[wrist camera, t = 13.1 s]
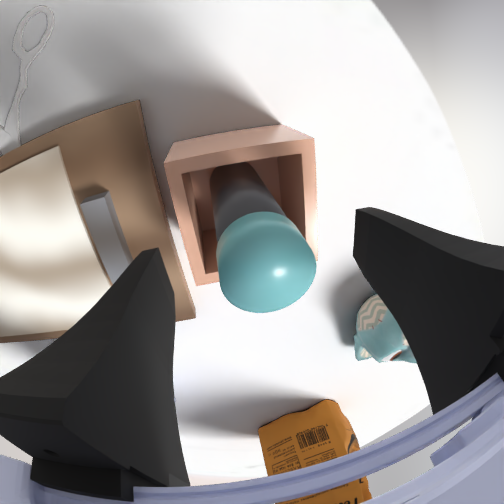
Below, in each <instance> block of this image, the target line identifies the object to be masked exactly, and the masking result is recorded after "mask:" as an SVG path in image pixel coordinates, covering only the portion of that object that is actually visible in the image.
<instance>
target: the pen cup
mask: <svg viewBox="0 0 504 504" xmlns="http://www.w3.org/2000/svg"><path fill="white" fill-rule="evenodd" d="M239 162H247V163H249V164H250V165H251V166H252V167H253V168H254V169H255V171H256V172H257V174H258V175H259V177H260V178H261V179H262V181H263V182H264V184H265V185H266V187H267V188H268V190H269V191H270V193H271V194H272V196H273V197H274V199H275V200H276V202H277V203H278V205H279V206H280V208H281V209H282V211H283V212H284V214H285V215H286V217H287V218H288V219H289V220H291V221H292V222H293V223H294V224H295V225H296V227H297V228H298V230H299V231H300V233H301V234H302V236H303V237H304V239H305V240H306V242H307V243H308V245H309V246H310V248H311V249H312V251H313V253H314V255H315V259H316V261H318V229H317V186H316V162H315V144H314V138H312V137H310V136H308V135H306V134H303V133H301V132H299V131H297V130H294V129H292V128H290V127H287V126H285V125H282V124H279V125H271V126H263V127H255V128H248V129H241V130H235V131H229V132H223V133H217V134H212V135H206V136H201V137H196V138H191V139H187V140H182V141H177V142H173V144H172V146H171V148H170V150H169V153H168V155H167V157H166V159H165V161H164V168H165V172H166V176H167V180H168V185H169V189H170V193H171V197H172V201H173V205H174V209H175V213H176V216H177V220H178V224H179V228H180V231H181V235H182V239H183V242H184V246H185V249H186V253H187V257H188V260H189V263H190V267H191V270H192V274H193V277H194V280H195V284H196V286H199V285H205V284H210V283H215V282H220V281H219V274H218V266H217V258H216V249H217V237H216V230H215V222H214V215H213V207H212V200H211V192H210V177H211V174H212V172H213V171H214V169H215V168H216V167H217V166H222V165H228V164H233V163H239Z"/></svg>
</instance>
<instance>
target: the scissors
mask: <svg viewBox="0 0 504 504" xmlns="http://www.w3.org/2000/svg"><path fill="white" fill-rule="evenodd" d="M40 12H44V13H45V14H46V15H47V26H48V28H47V30H46V32H45V34H44V35H43V37H42V39H41V41H40V43H39V44H38V45H37V46H36V47H35V48H33V49H32V50H30V51H26V50H25V49H24V48H23V47H22V35H23V30H24V28H25V26H26V23H27V21H28V20H29V19H30V18H31V17H32V16H34V15H36V14H38V13H40ZM53 26H54V14H53V12H52V10H51V9H50V8H48V7H46V6H42V5H40V6H37V7H35V8H33V9H32V10H30V11H29V12H28V13H27V14H26V15H25V16H24V18H23V19H22V20H21V22H20V23H19V25H18V28H17V30H16V33H15V36H14V40H13V46H12V51H13V52H14V53H15V54H16V55H17V56H18V57H19V58H20V59H21V60H22V61H21V64H20V77H21V78H20V81H19V84H18V88H17V91H16V94H15V98H14V101H13V104H12V106H11V109H10V111H9V113H8V116H7V120H6V123H5V127H4V128H3V127H2V126H0V152H1V153H2V155H5V154H6V153H8V152H10V151H12V150H14V149H16V148H17V147H19V146H21V141H20V131H19V103H20V99H21V96H22V94H23V93H24V91H25V89H26V88H27V69H28V67H29V66H30V64H31V63H32V61H33V60H34V59H35V57H36V56H37V55H38V54H39V53H40V52H41V51H42V49H43V48H44V46H45V45H46V43H47V41H48V39H49V37H50V35H51V33H52V29H53Z"/></svg>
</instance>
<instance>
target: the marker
mask: <svg viewBox="0 0 504 504" xmlns="http://www.w3.org/2000/svg"><path fill="white" fill-rule="evenodd" d="M210 192H211V200H212V207H213V215H214V222H215V230H216V237H217V249H216V258H217V266H218V274H219V281H220V287H221V290H222V292H223V294H224V296H225V297H226V298H227V300H228V301H229V302H230V303H232V304H233V305H234V306H236V307H238V308H240V309H242V310H245V311H249V312H255V313H266V312H272V311H276V310H280V309H282V308H285V307H287V306H289V305H291V304H292V303H294V302H295V301H297V300H298V299H299V298H300V297H302V296H303V295H304V294H305V292H306V291H307V290H308V289H309V287H310V286H311V284H312V282H313V279H314V277H315V273H316V259H315V255H314V253H313V251H312V249H311V248H310V246H309V245H308V243H307V242H306V240H305V239H304V237H303V236H302V234H301V233H300V231H299V230H298V228H297V227H296V225H295V224H294V223H293V222H292V221H291V220H289V219H288V218H287V217H286V215H285V214H284V212H283V211H282V209H281V208H280V206H279V205H278V203H277V202H276V200H275V199H274V197H273V196H272V194H271V193H270V191H269V190H268V188H267V187H266V185H265V184H264V182H263V181H262V179H261V178H260V177H259V175H258V174H257V172H256V171H255V169H254V168H253V167H252V166H251V165H250V164H249V163H247V162H239V163H233V164H228V165H222V166H217V167H216V168H215V169H214V171H213V172H212V174H211V177H210Z"/></svg>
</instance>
